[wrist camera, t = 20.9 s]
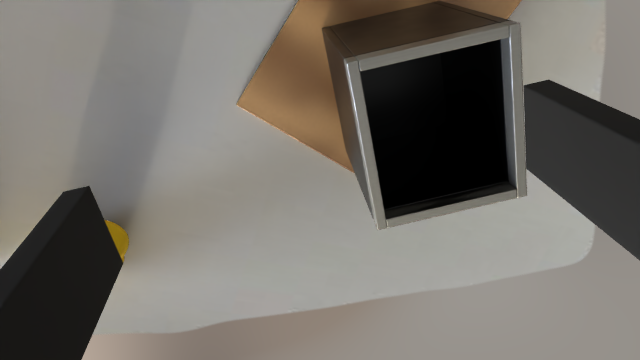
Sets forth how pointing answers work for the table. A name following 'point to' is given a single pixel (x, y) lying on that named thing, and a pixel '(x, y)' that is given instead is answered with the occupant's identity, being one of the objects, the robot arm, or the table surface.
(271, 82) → the wooden board
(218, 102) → the table surface
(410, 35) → the desk bin
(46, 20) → the table surface
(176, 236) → the table surface
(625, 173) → the robot arm
